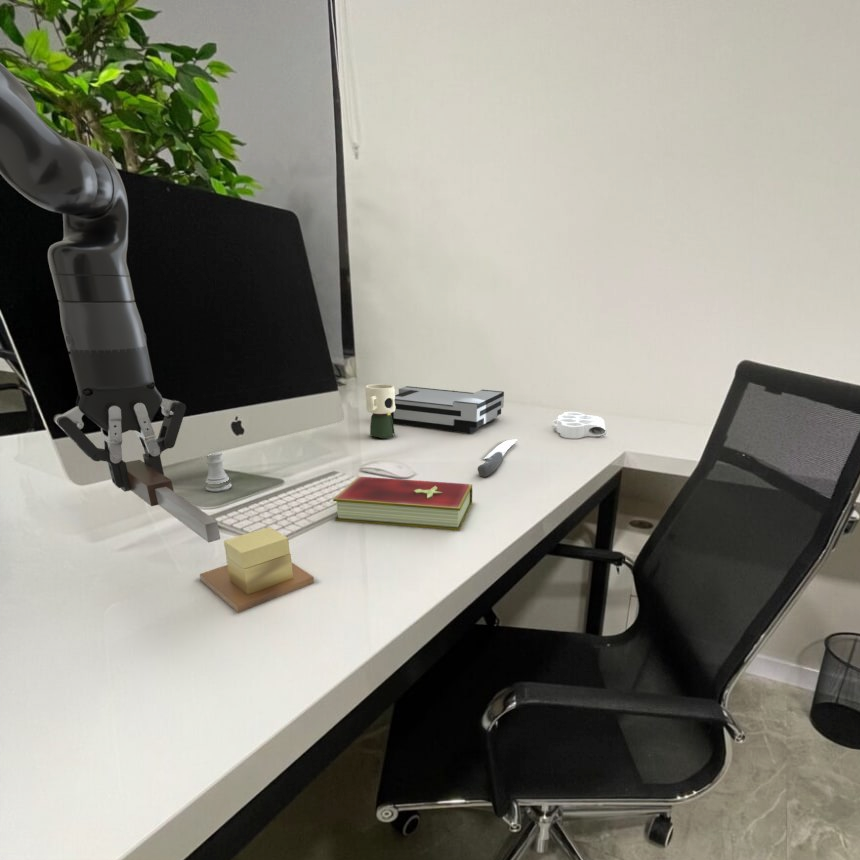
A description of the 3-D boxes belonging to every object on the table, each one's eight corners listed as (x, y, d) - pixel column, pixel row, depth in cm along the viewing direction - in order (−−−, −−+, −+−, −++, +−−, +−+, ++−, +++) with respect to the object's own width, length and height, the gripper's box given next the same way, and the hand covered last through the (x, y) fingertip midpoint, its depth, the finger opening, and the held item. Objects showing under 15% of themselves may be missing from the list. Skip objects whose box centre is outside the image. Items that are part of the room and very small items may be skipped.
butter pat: (243, 569, 66) (240, 553, 65) (226, 556, 69) (223, 540, 68) (290, 553, 70) (288, 537, 70) (271, 541, 73) (269, 526, 72)
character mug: (386, 443, 135) (384, 390, 131) (360, 441, 137) (356, 388, 132) (403, 433, 145) (402, 383, 140) (378, 431, 147) (376, 381, 142)
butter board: (238, 613, 65) (232, 580, 64) (200, 580, 72) (194, 549, 71) (314, 583, 72) (311, 552, 71) (273, 555, 79) (269, 527, 78)
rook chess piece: (203, 487, 104) (195, 446, 101) (228, 483, 106) (222, 443, 103) (209, 494, 100) (202, 452, 97) (235, 489, 103) (229, 448, 100)
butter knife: (201, 545, 54) (196, 521, 53) (121, 483, 70) (116, 463, 69) (227, 537, 56) (223, 513, 55) (144, 478, 72) (139, 459, 71)
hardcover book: (360, 495, 102) (359, 474, 101) (472, 503, 100) (472, 482, 99) (335, 521, 91) (332, 497, 90) (459, 530, 89) (459, 506, 87)
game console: (407, 408, 174) (406, 382, 171) (503, 419, 164) (503, 391, 161) (371, 422, 155) (369, 393, 152) (476, 435, 145) (476, 404, 142)
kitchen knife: (499, 437, 140) (517, 433, 139) (501, 447, 141) (520, 443, 140) (466, 469, 114) (489, 465, 112) (469, 480, 114) (492, 476, 113)
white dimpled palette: (605, 440, 144) (549, 437, 146) (603, 425, 161) (552, 422, 162) (606, 428, 143) (550, 424, 145) (604, 413, 160) (553, 410, 161)
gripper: (163, 337, 70) (188, 467, 76) (22, 344, 60) (64, 492, 66) (186, 342, 65) (210, 480, 71) (37, 350, 55) (81, 509, 62)
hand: (140, 485), depth 69 cm, fingers closed on butter knife, 2 cm apart
